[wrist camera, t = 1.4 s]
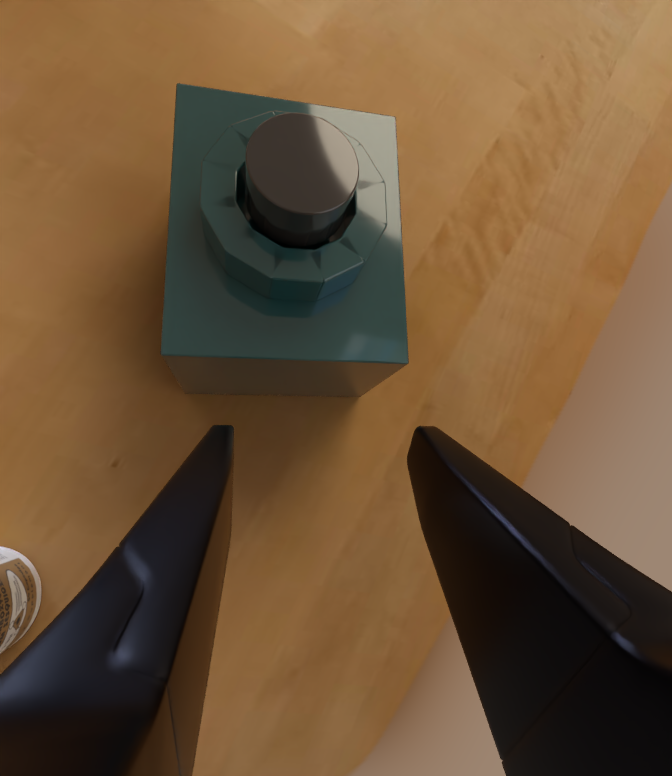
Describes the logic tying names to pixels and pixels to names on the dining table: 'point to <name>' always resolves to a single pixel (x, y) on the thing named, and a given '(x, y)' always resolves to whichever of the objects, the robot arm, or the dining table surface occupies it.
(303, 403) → the dining table surface
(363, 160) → the teal push button box
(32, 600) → the pill bottle
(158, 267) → the dining table surface
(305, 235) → the dark brown button
